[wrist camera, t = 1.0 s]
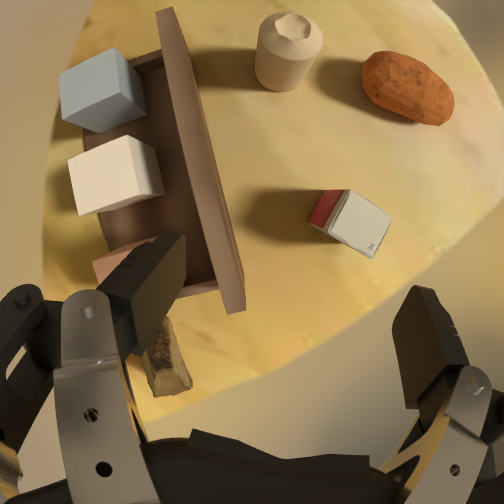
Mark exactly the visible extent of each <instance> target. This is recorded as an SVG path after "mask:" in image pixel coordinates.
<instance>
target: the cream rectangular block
mask: <svg viewBox="0 0 504 504" xmlns="http://www.w3.org/2000/svg"><path fill="white" fill-rule="evenodd" d="M68 166H69V172H70V177H71V183H72V188H73V192H74V197H75V202H76V206H77V210H78V215H79V216H82V215H88V214H93V213H99V212H105V211H111V210H116V209H119V208H122V207H125V206H128V205H131V204H134V203H137V202H140V201H144V200H147V199H150V198H153V197H156V196H160V195H163V194H165V190H164V186H163V182H162V178H161V174H160V169H159V165H158V161H157V156H156V152H155V148H153V147H151V146H149V145H147V144H145V143H143V142H141V141H139V140H137V139H135V138H133V137H131V136H129V135H125V136H123V137H120V138H118V139H115V140H113V141H110V142H108V143H105V144H103V145H100V146H98V147H96V148H93V149H91V150H89V151H87V152H84V153H82V154H80V155H78V156H76V157H74V158H72V159H69V160H68Z"/></svg>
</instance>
